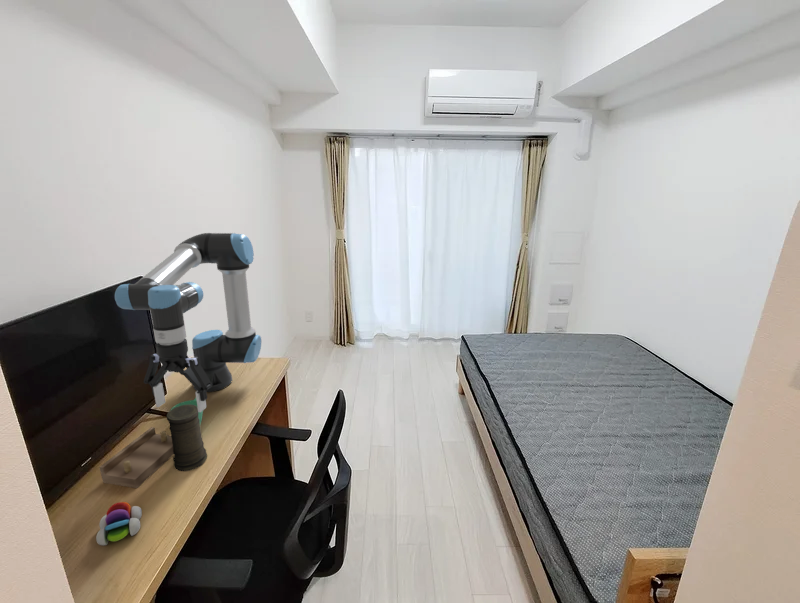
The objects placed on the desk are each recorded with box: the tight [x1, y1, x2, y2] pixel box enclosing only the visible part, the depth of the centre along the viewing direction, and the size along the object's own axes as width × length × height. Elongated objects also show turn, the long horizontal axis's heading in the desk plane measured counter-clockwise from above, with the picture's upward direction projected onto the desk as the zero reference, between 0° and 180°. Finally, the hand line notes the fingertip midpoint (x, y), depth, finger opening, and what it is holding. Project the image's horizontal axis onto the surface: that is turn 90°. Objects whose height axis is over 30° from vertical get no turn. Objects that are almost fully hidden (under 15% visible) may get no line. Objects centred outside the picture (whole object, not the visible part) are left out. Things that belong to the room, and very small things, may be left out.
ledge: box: [99, 426, 174, 489], centre depth 117 cm, size 19×11×6 cm, turn 171°
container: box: [166, 404, 208, 472], centre depth 116 cm, size 9×9×18 cm
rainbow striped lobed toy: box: [95, 501, 143, 546], centre depth 94 cm, size 8×10×7 cm
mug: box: [170, 397, 204, 426], centre depth 133 cm, size 15×10×10 cm
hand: (181, 407), depth 112 cm, fingers open, 13 cm apart
